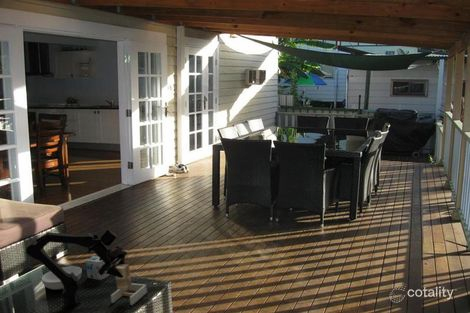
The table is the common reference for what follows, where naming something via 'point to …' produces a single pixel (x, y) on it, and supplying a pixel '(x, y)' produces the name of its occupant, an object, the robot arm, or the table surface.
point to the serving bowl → (55, 282)
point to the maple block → (126, 279)
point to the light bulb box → (95, 268)
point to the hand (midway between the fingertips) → (125, 274)
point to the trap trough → (130, 293)
